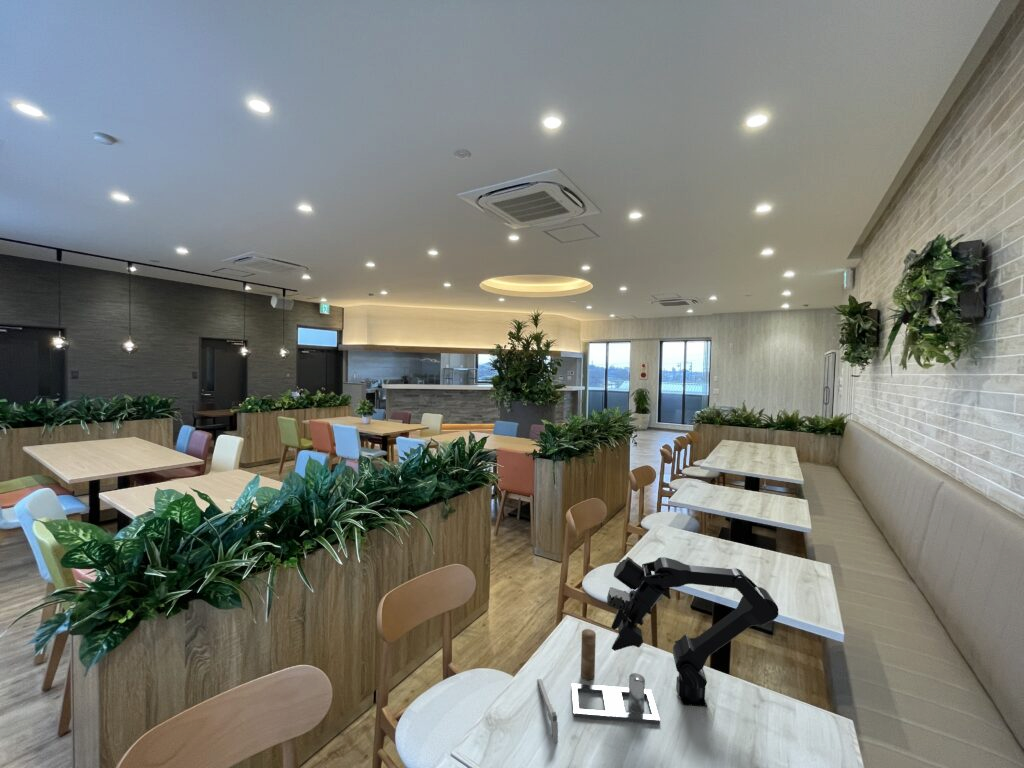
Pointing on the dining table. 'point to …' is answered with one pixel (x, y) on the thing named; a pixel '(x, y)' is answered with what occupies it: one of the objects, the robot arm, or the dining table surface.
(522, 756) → the dining table surface
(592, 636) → the walnut pin
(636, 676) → the steel pin
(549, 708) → the caliper
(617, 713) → the plate
